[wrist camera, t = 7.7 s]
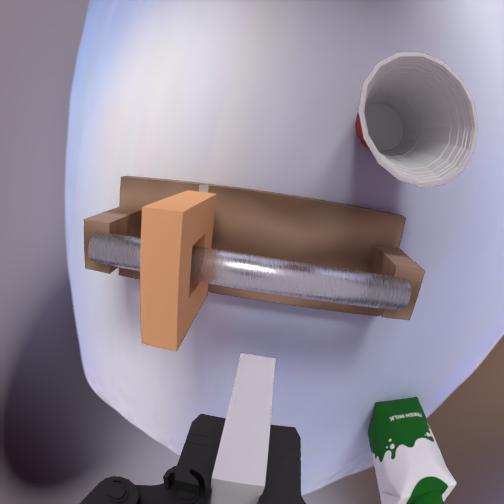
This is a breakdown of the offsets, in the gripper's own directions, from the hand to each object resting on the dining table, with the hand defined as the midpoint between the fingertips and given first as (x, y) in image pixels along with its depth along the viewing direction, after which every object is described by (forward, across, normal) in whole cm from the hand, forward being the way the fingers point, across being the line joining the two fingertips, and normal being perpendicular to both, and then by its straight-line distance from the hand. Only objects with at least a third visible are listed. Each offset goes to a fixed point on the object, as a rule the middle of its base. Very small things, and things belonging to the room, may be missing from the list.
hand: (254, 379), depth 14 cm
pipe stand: (+23, -2, 0) cm, 23 cm away
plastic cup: (+24, +10, +14) cm, 29 cm away
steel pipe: (+16, -2, 0) cm, 16 cm away
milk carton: (+23, +23, -24) cm, 41 cm away
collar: (+20, -8, 0) cm, 21 cm away
